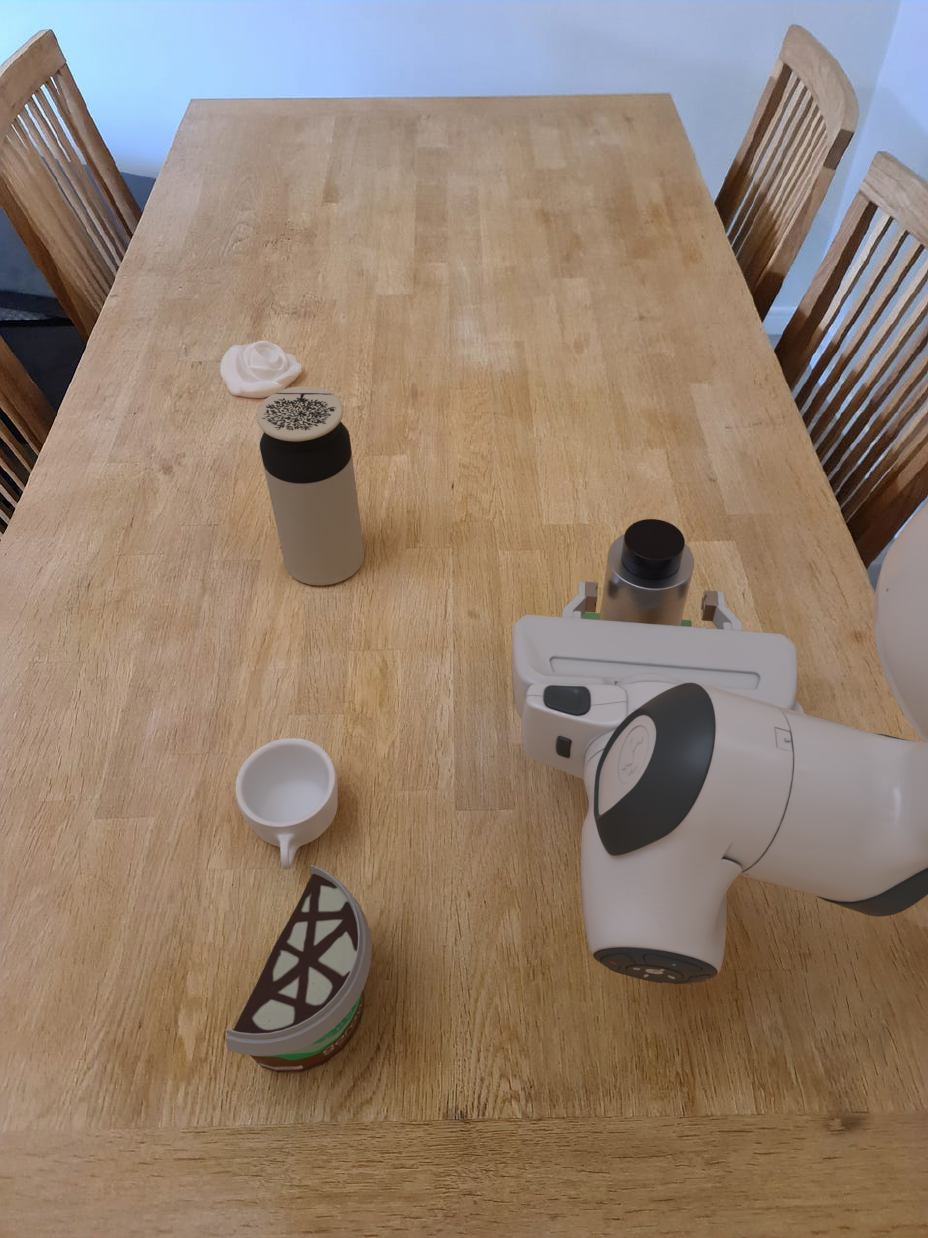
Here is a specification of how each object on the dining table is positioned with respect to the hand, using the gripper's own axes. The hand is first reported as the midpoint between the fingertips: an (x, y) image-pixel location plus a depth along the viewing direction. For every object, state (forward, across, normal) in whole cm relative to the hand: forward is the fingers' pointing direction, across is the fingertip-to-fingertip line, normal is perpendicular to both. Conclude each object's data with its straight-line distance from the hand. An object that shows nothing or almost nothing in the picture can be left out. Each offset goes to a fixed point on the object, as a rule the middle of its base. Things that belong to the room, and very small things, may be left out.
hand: (649, 591), depth 74 cm
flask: (0, 0, +9) cm, 9 cm away
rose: (+44, +44, +14) cm, 64 cm away
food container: (-30, +20, +14) cm, 38 cm away
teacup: (-16, +26, +14) cm, 34 cm away
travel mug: (+14, +30, +14) cm, 36 cm away
